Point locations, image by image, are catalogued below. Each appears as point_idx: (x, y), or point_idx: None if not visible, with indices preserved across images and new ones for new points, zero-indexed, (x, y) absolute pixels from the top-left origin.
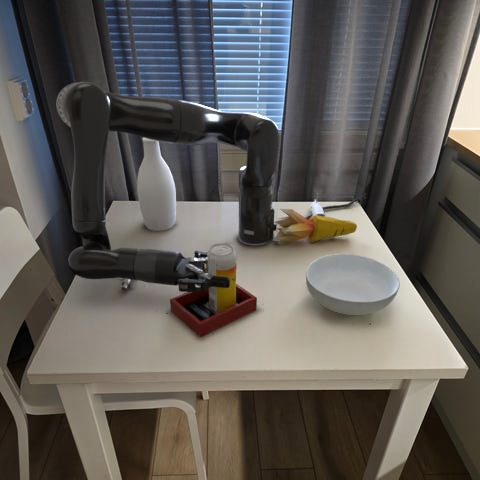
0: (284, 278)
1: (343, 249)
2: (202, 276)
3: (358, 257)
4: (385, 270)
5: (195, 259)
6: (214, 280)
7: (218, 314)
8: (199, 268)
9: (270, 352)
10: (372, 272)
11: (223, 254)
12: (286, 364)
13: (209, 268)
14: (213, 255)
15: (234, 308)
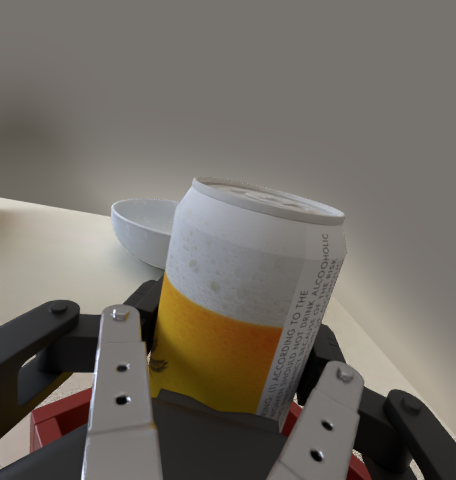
0: (69, 298)
1: (17, 222)
2: (357, 410)
3: (129, 202)
4: (168, 205)
5: (130, 435)
6: (339, 361)
7: (359, 464)
8: (243, 430)
9: (365, 374)
10: (151, 217)
11: (311, 208)
12: (381, 357)
13: (302, 337)
14: (340, 227)
15: (292, 401)
